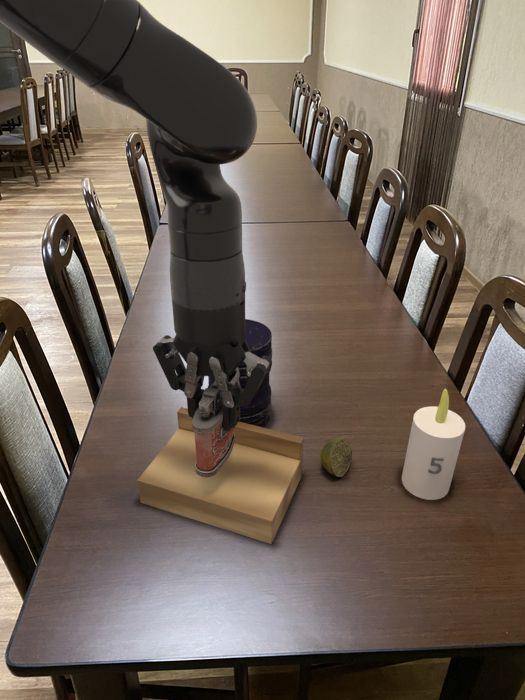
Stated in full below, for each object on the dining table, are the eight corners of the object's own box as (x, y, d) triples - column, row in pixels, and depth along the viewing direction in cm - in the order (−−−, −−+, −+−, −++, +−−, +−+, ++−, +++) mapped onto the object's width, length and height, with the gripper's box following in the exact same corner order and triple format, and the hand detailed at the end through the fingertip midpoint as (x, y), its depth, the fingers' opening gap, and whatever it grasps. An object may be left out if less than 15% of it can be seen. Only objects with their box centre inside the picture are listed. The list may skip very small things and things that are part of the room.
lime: (350, 459, 77) (353, 431, 74) (352, 483, 72) (356, 455, 70) (319, 457, 77) (321, 429, 74) (319, 481, 73) (321, 453, 70)
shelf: (271, 544, 64) (272, 502, 60) (140, 502, 69) (134, 462, 66) (301, 476, 74) (303, 437, 70) (184, 444, 79) (181, 406, 75)
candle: (403, 497, 70) (421, 406, 63) (400, 463, 76) (417, 375, 68) (452, 504, 70) (477, 412, 62) (446, 468, 75) (468, 380, 67)
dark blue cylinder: (266, 396, 89) (268, 316, 82) (275, 434, 81) (277, 350, 73) (206, 400, 88) (202, 320, 80) (209, 439, 80) (204, 354, 72)
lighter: (215, 480, 63) (212, 412, 57) (189, 473, 64) (183, 406, 58) (240, 437, 69) (239, 373, 64) (216, 432, 70) (213, 368, 65)
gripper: (128, 294, 54) (146, 428, 63) (259, 318, 50) (258, 458, 59) (165, 267, 60) (176, 393, 69) (285, 287, 56) (281, 418, 65)
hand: (214, 422), depth 64 cm, fingers closed on lighter, 3 cm apart
